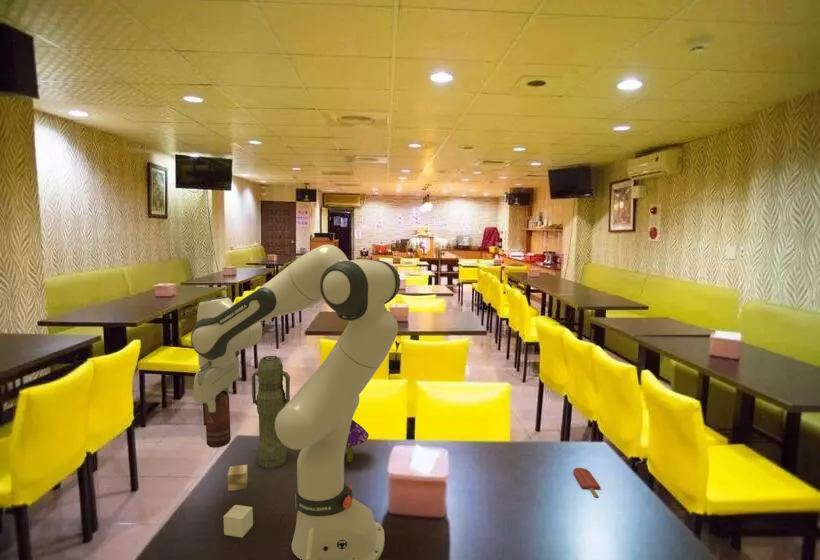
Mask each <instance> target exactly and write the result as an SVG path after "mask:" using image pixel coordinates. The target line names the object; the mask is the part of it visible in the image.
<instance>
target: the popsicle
mask: <svg viewBox="0 0 820 560" xmlns="http://www.w3.org/2000/svg"><path fill="white" fill-rule="evenodd" d="M572 473H573V477H574V478H575V480H576V482H577V483H578V485H579V487H580V488H581V490H589V491H590V492H591V494H592V495H593V496H594V497H595V498H598V497H599V495H598V493H597V491H600V490H601V486H600V484H599V483H598V481H597V480H596V479H595V477H594V476H593V475H592V472H590V470H588V469H587V468H583V467H575V468H573V472H572Z"/></svg>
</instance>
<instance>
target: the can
mask: <svg viewBox="0 0 820 560" xmlns="http://www.w3.org/2000/svg"><path fill="white" fill-rule="evenodd" d="M215 403H216V405H217V410H216V411H215V412H209V411H208V405H207V403H204V410H205V412H204V414H205V433H206V434H205V435H206V437H205V438H206V446H208V447H209V448H211V449H212V448H214V449H216V448H222V447H225V446H228V444H229V443H230V442H231V439H232V438H231V437H232V436H231V435H232V434H231V433H232V432H231V414H230V413H231V412H230V394H229V392H228V393H227V392H226V391H221V392H220V393H219V394H218V395H217V396H216V399H215Z"/></svg>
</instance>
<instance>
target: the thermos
mask: <svg viewBox="0 0 820 560" xmlns="http://www.w3.org/2000/svg"><path fill="white" fill-rule="evenodd" d="M256 376H257V380H258V381H257V382H258V388H257V387H256ZM284 378H285V389H284V384H283V381H284ZM290 382H291V376H290V374H289V373H288V372H287V371H284V365H283V363H282V361H281V358H280V357H279V356H276V355H268V356H267V355H266V356H263V357H262V358H260V360H259V363H258V366H257V370H255V372H253V374H252V376H251V394H252V395H251V396H252V397H251V398H252V399H251V400H252V404H254V405H255V406H256V411H257V414H258V432H259V433H258V436H259V437H258V438H259V443H258V447H257V457H258V466H259V467H260V466H261V467H260V468H263V469H267V470H271V469H277V468H281V467H282V466H284V465H285V464H286V463H287V453H288V452H287V451H288V450H287V448H288V447H286V446H285V445H284V444H283V443H282V442H281V441H280V440H279V438H278V436H277V434H276V431H275V419H276V416H277V414H278V413H279V412H280V411H281V410H282V409H283V408H284V407H285V406H286V405H287V404H288V403H289V402H290V400H291V398H290V397H291V395H290V391H291V390H290V389H291V385H290V384H291V383H290ZM256 388H257V389H258V390H257V391H256Z"/></svg>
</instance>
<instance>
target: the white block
mask: <svg viewBox="0 0 820 560" xmlns="http://www.w3.org/2000/svg"><path fill="white" fill-rule="evenodd" d="M253 513H254V511H253V506H247V505H241V504H239V505H238V504H234V505H233V506H232V507H230V509H229V510H228V511H227V512H226V513H225V514H224V515H223V533H224V534H223V535H224V536H230V537H235V538H243V537H244V536H245V535H246V534H247V533H248V532H249V530H250V529H251V528H252V527H253V525H254V518H253V517H254V514H253Z"/></svg>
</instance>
